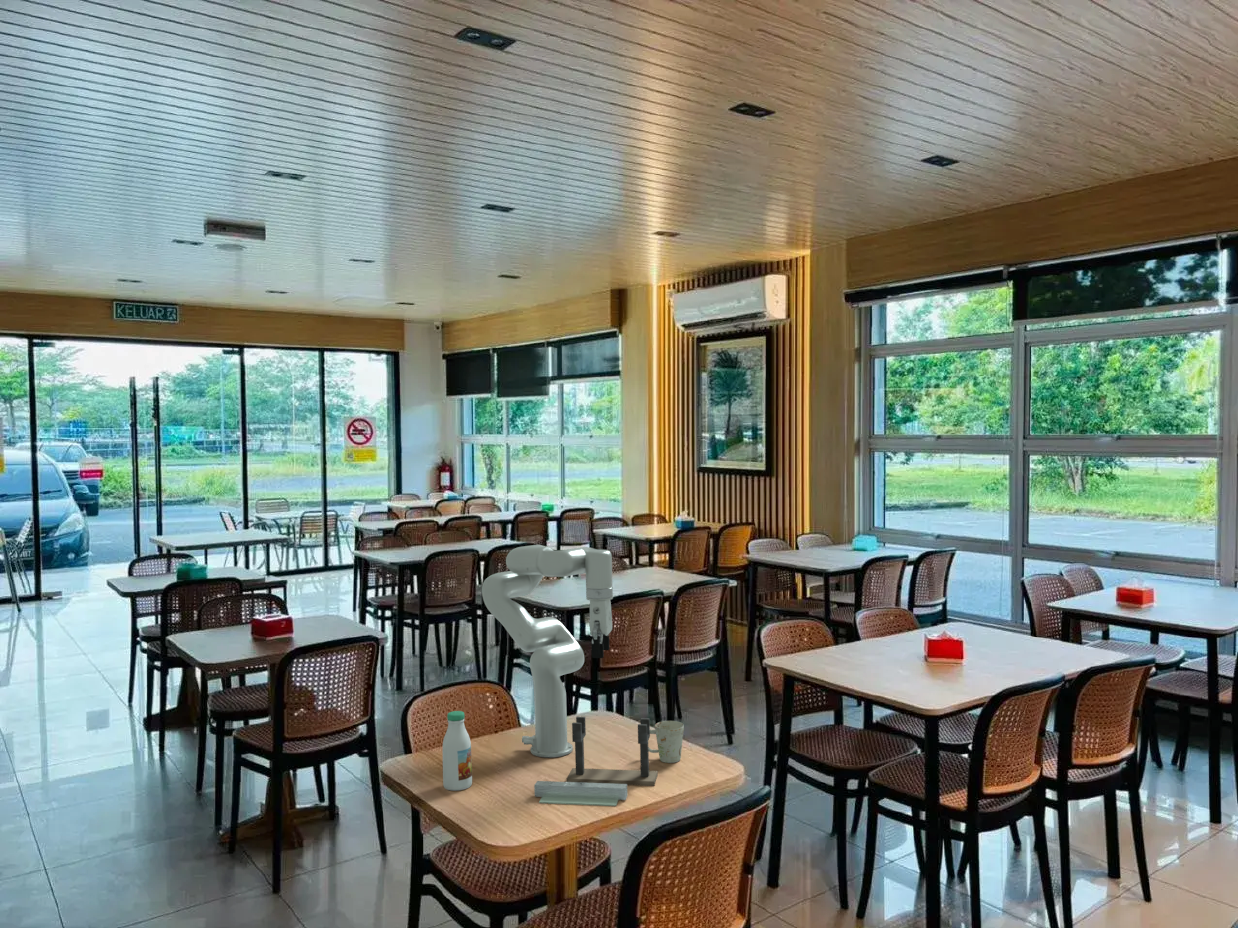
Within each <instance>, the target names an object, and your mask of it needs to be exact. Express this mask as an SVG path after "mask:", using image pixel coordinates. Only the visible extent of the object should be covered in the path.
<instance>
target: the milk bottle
mask: <svg viewBox="0 0 1238 928" xmlns="http://www.w3.org/2000/svg"><path fill="white" fill-rule="evenodd" d="M446 716H447V717H446V719H447V723H448V725H447V729H446V732H445V735H444V736H443V740H442V786H443V788H444V789H445V790H447V791H451V792H452V791H456V792H457V791H462V790H467V789H468V788H470V787H471V786H472V784H473V768H472V767H473V766H472V764H473V763H472V762H473V761H472V743H471V738H470V735H469V733H468V731H467V729H466V726H465V723H464V722H465V712H464V711H462V710H454V711H450V712H447V715H446Z"/></svg>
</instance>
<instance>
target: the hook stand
mask: <svg viewBox="0 0 1238 928" xmlns="http://www.w3.org/2000/svg"><path fill="white" fill-rule="evenodd" d="M650 722H651V721H650V717H649V718H647V717H641V718H640V723H638V724H637V744H639V751H640V752H639V754H640V755H639V756H640V760H639V761H640V763H639V764H640V769H615V768H614V769H612V768H611V769H608V768H585V747H584V744H585V743H584V740H585V739H584V738H585V737H586V735H587V734H586V732H587V731H586V730H587V729H586V716H576V717H575V722H572V723H571V730H572V731H571V734H572V736H571V737H572V742H573V743H574V750H575V751H574V755H575V756H574V757H575V759H574V760H575V761H574V762H575V767H573V768H571V770H570V772H569V773H568V775H567V777H566V779H565V780H566V781H565V782H582V783H610V784H627V786H641V787H642V786H643V787H644V786H645V787H646V786H647V787H648V786H649V787H654V786H655V784H656V781H657V778H658V773H659V772H658V770H650V762H649V761H650V756H649V755H650V754H649V753H650V752H649V750H648V747H649V739H650V737H651V734H650V730H651V729H650V728H651V725H650V724H651V723H650Z"/></svg>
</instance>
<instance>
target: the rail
mask: <svg viewBox="0 0 1238 928" xmlns="http://www.w3.org/2000/svg"><path fill="white" fill-rule="evenodd" d="M533 788H534V798H535V797H537V798H538V797H539V798H542V797H560V798H586V799H611V800H618V801H621V800H622V801H626V800H627V798H628V785H627V784H610V783H582V782H566V781H556V780H555V781H553V780H552V781H551V780H550V781H549V780H536V782H535V784H534V786H533Z"/></svg>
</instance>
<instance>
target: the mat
mask: <svg viewBox="0 0 1238 928" xmlns="http://www.w3.org/2000/svg"><path fill="white" fill-rule="evenodd" d="M618 802H619V800H611V799H586V798H560V797H540V800H539V802H538V803H539V804H547V803H548V805H549V804H550V805H551V804H553V805H576V806H581V805H582V806H599V807H600V806H602V807H617V805H618Z"/></svg>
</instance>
